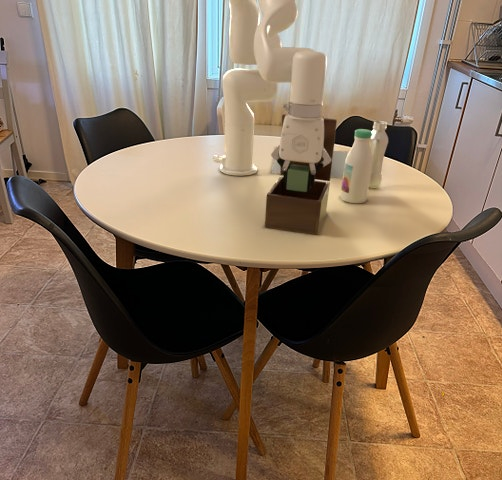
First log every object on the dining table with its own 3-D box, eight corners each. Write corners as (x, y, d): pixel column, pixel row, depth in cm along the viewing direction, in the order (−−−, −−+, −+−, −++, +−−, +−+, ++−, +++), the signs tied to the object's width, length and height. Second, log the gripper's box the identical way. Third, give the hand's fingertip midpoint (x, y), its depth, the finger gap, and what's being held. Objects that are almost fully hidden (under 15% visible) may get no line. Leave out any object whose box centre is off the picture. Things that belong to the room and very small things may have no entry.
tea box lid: (336, 120, 116) (339, 112, 120) (282, 115, 119) (286, 107, 123) (329, 181, 127) (332, 172, 131) (280, 175, 130) (284, 166, 134)
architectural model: (355, 179, 160) (361, 135, 152) (271, 173, 161) (273, 130, 154) (347, 151, 190) (352, 114, 182) (276, 147, 191) (279, 110, 184)
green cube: (306, 192, 117) (308, 172, 115) (286, 189, 118) (287, 169, 116) (309, 186, 121) (311, 166, 119) (290, 183, 122) (291, 164, 120)
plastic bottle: (380, 190, 150) (392, 125, 140) (358, 188, 151) (369, 123, 141) (380, 184, 156) (391, 120, 145) (358, 182, 157) (369, 119, 146)
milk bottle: (367, 197, 145) (379, 129, 134) (364, 205, 138) (376, 135, 128) (342, 193, 147) (352, 126, 136) (338, 201, 140) (347, 131, 130)
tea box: (317, 235, 119) (321, 201, 114) (264, 227, 122) (266, 194, 117) (326, 213, 132) (329, 182, 127) (278, 206, 135) (280, 176, 130)
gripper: (265, 110, 109) (261, 187, 118) (340, 117, 106) (330, 196, 115) (273, 105, 115) (268, 178, 125) (343, 111, 112) (334, 186, 121)
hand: (298, 186), depth 120 cm, fingers closed on green cube, 5 cm apart
